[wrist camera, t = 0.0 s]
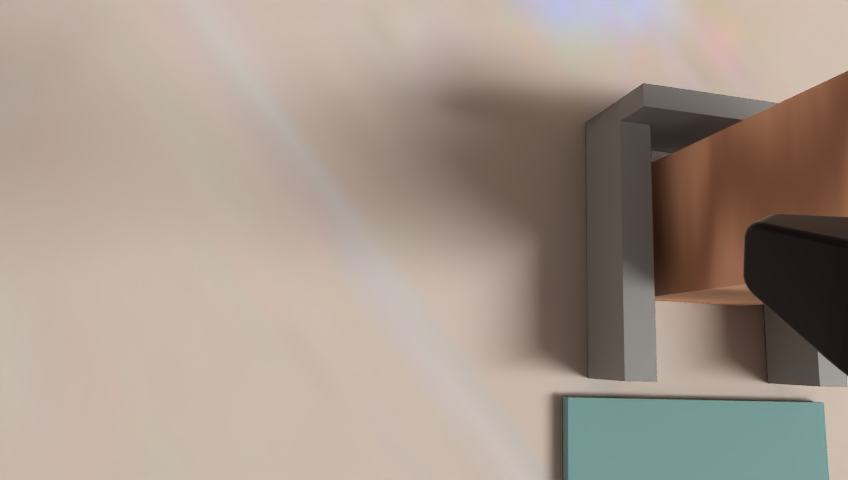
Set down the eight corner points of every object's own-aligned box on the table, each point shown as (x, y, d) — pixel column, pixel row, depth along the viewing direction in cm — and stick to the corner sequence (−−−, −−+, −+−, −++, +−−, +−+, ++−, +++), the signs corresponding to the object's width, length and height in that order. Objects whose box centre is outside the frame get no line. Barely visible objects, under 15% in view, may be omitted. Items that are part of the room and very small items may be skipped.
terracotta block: (745, 306, 26) (1025, 280, 17) (634, 299, 25) (866, 267, 16) (739, 184, 27) (1002, 95, 18) (631, 172, 26) (851, 69, 17)
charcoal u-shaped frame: (793, 383, 26) (885, 389, 23) (587, 378, 24) (651, 383, 20) (778, 147, 28) (861, 115, 24) (585, 122, 26) (643, 83, 22)
